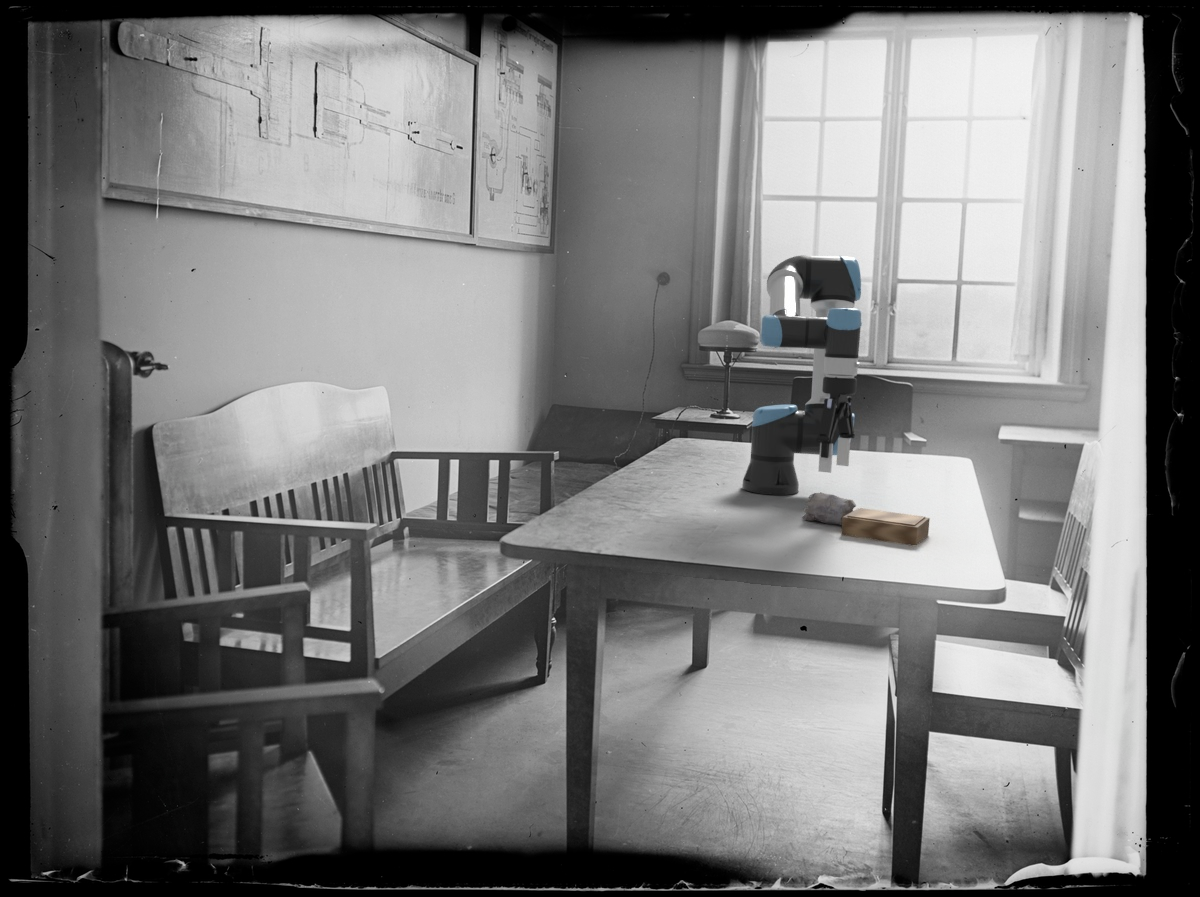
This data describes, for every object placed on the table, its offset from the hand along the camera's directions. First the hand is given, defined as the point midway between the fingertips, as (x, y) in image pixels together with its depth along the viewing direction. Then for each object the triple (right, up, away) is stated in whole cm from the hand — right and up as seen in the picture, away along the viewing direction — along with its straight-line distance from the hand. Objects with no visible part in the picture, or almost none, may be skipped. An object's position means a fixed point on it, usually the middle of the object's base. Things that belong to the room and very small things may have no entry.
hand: (833, 468), depth 221 cm
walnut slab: (+9, -15, -9) cm, 19 cm away
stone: (-1, -13, +2) cm, 13 cm away
